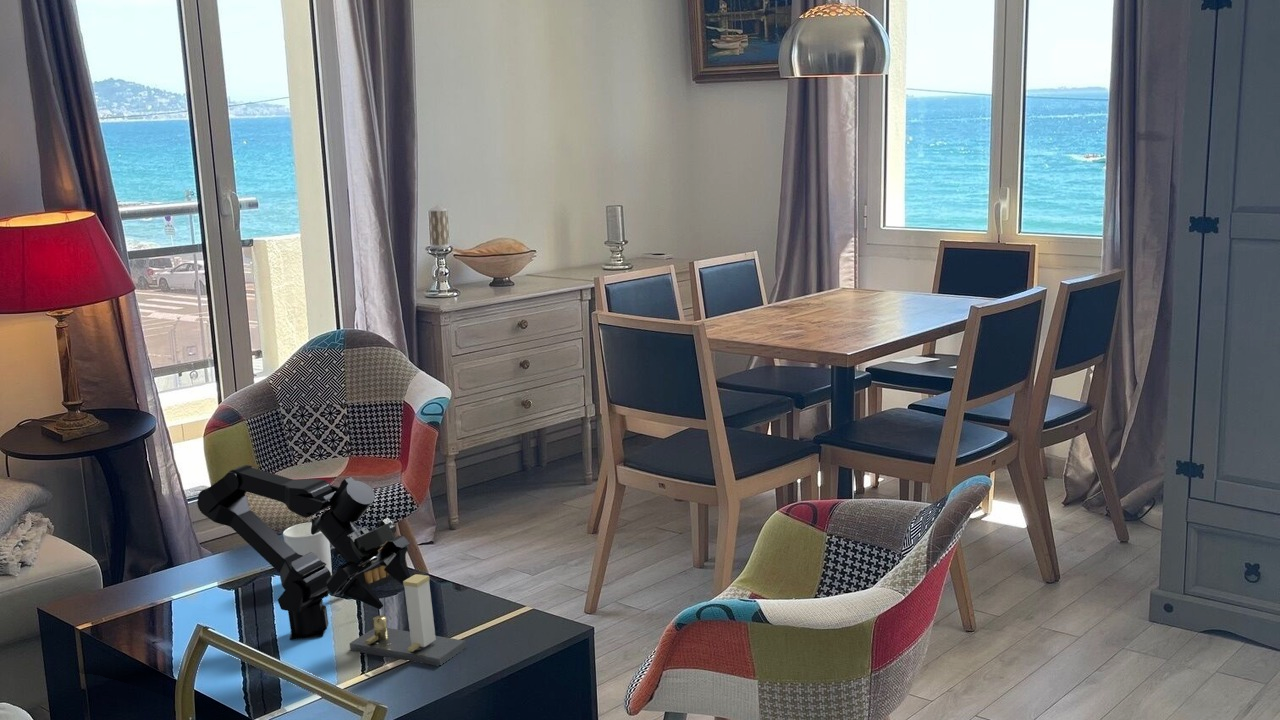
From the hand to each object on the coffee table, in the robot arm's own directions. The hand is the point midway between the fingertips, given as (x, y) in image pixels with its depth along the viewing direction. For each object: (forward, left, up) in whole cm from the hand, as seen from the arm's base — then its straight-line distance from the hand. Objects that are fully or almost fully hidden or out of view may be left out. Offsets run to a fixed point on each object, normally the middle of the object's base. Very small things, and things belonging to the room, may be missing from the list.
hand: (397, 598), depth 222 cm
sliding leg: (+4, -4, -8) cm, 10 cm away
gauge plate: (+1, -1, -10) cm, 10 cm away
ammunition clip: (-10, +35, -10) cm, 38 cm away
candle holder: (-24, +42, -10) cm, 49 cm away
